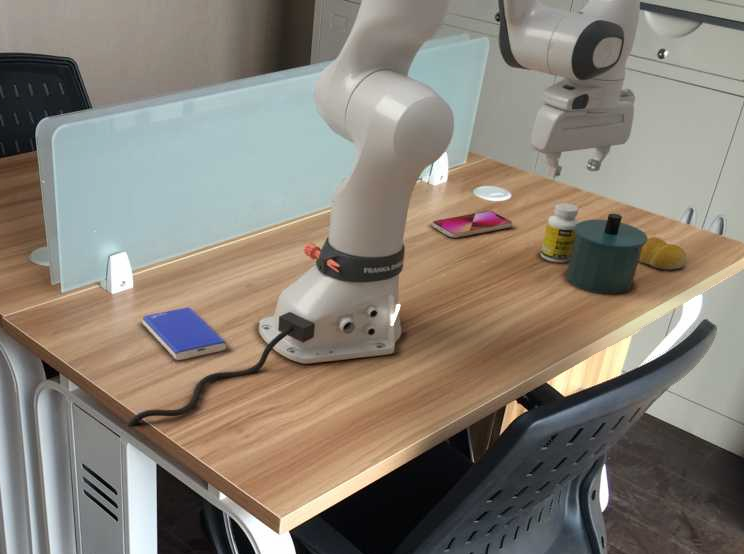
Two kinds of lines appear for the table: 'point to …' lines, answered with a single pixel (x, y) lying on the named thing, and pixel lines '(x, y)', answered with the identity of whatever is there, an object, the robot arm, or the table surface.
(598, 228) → the pot lid
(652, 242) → the bread roll
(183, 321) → the hard drive
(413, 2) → the robot arm
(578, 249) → the pot
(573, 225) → the supplement bottle
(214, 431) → the table surface
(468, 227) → the smartphone
